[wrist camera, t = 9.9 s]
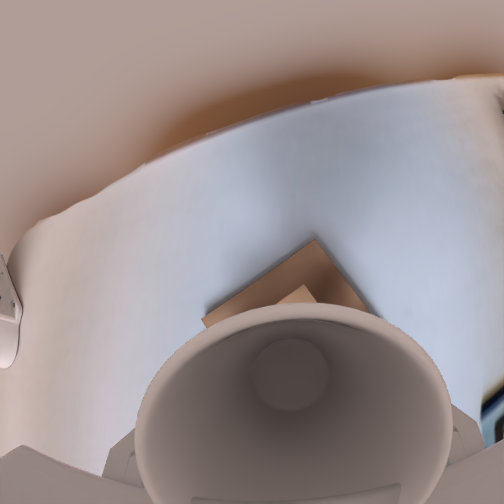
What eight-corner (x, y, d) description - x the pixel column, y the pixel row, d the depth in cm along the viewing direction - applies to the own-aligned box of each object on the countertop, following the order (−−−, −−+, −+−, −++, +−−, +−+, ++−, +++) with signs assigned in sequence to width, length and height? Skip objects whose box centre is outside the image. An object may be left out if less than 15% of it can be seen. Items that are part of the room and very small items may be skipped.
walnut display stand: (204, 319, 34) (181, 315, 27) (313, 243, 35) (320, 219, 27) (307, 461, 28) (311, 491, 20) (414, 383, 29) (443, 394, 21)
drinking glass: (232, 332, 20) (101, 325, 5) (330, 313, 19) (435, 260, 5) (250, 423, 18) (175, 570, 3) (346, 405, 17) (450, 526, 3)
